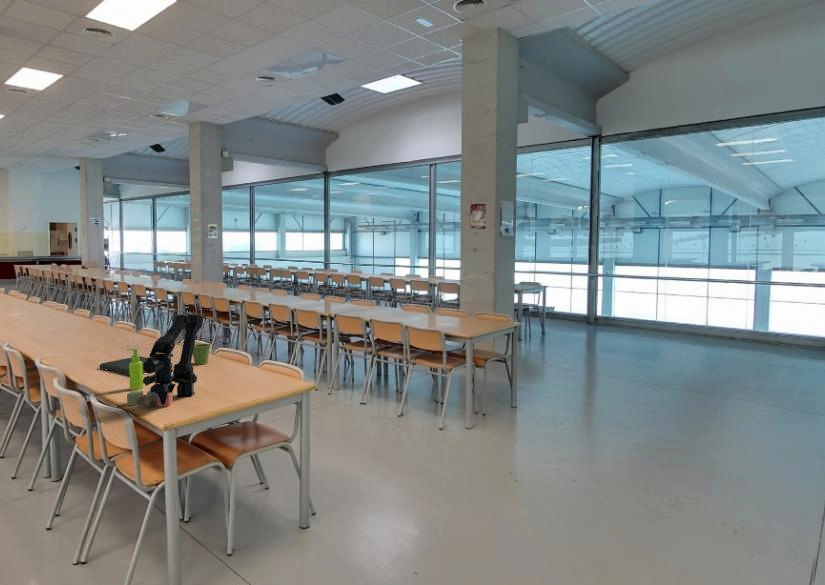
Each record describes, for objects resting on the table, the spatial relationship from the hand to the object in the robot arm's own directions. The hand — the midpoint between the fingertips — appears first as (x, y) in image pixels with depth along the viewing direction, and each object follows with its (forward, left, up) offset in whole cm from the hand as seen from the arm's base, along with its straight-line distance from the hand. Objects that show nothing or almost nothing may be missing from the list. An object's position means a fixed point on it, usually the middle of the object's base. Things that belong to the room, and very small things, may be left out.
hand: (165, 402), depth 241 cm
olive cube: (+14, -4, -1) cm, 14 cm away
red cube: (0, 0, -1) cm, 1 cm away
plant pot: (+6, -84, -1) cm, 85 cm away
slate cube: (+6, -6, -1) cm, 9 cm away
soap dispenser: (+23, -29, -1) cm, 38 cm away
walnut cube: (+8, +3, -1) cm, 8 cm away
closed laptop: (+39, -73, -2) cm, 83 cm away
